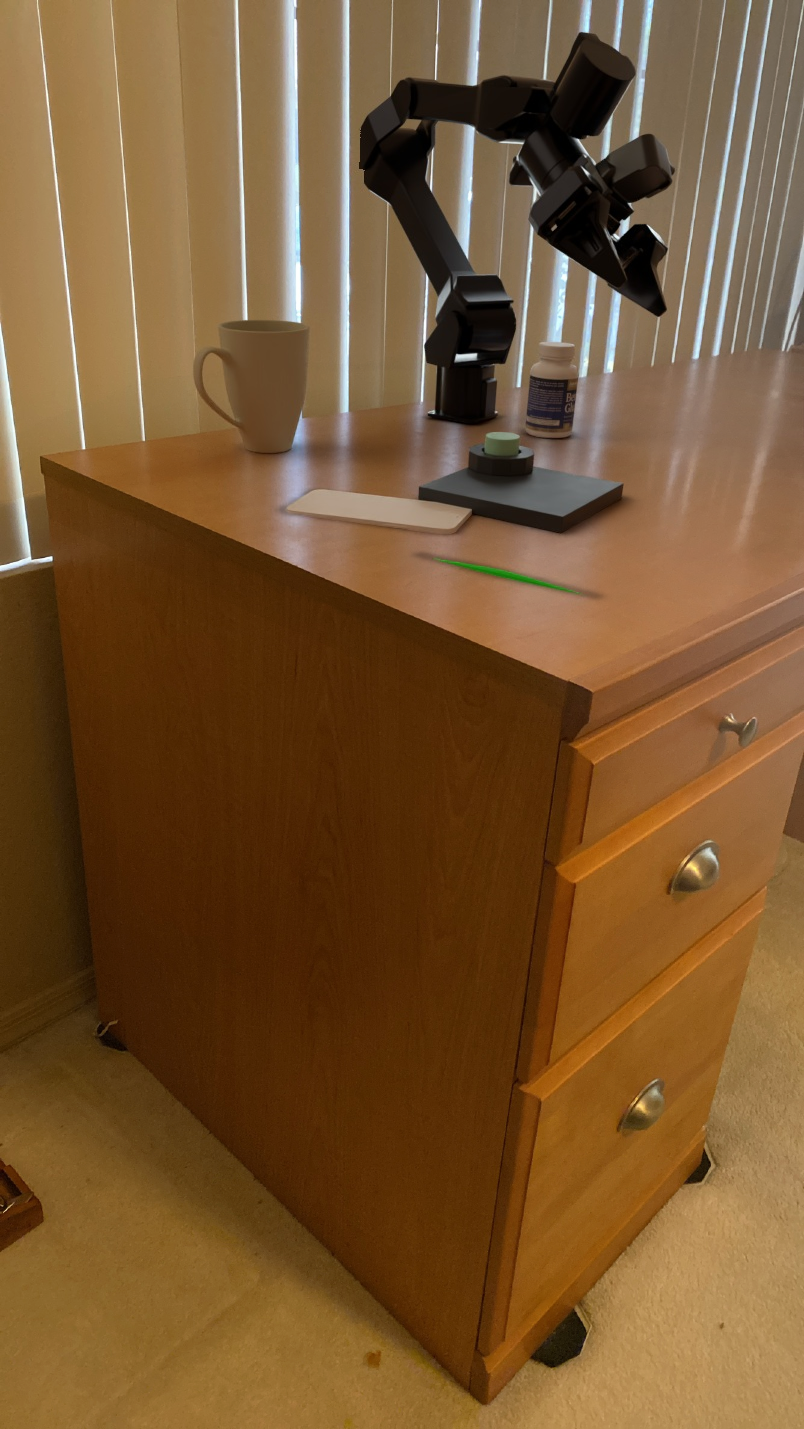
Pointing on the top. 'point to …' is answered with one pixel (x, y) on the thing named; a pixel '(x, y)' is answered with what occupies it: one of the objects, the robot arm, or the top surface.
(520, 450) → the scale
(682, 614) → the top surface
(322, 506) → the smartphone
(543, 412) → the pill bottle
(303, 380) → the mug
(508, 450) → the button
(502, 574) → the green tapered stick
